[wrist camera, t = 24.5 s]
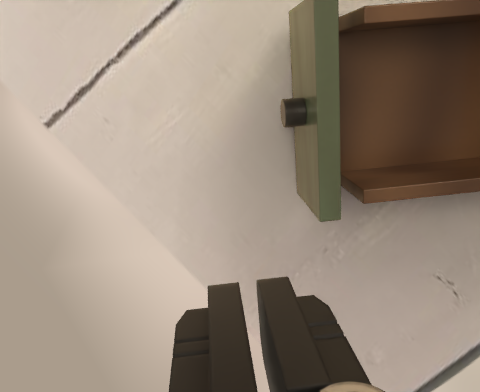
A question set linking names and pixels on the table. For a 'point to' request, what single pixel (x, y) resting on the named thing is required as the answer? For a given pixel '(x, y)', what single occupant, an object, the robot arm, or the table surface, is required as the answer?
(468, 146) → the drawer
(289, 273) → the table surface
